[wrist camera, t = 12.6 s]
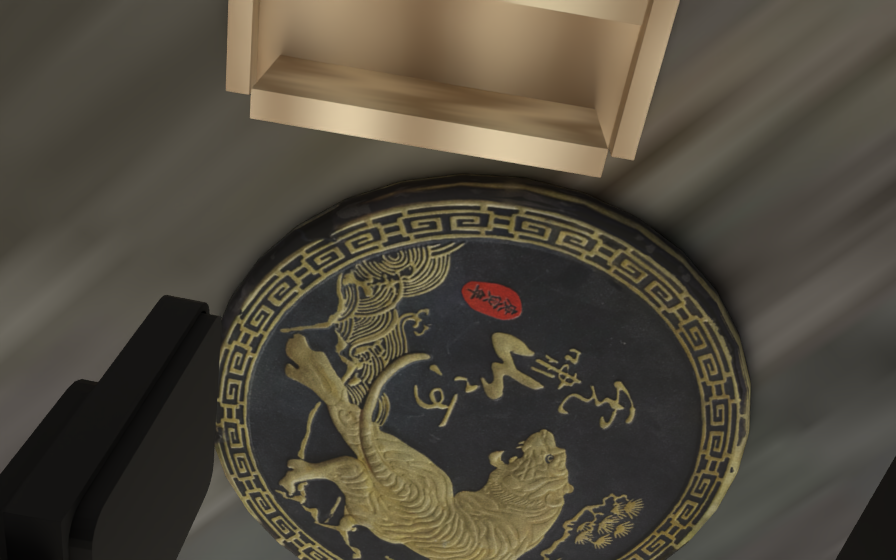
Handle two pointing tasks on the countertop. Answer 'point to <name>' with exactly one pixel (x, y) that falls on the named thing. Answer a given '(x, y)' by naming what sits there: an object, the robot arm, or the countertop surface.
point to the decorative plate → (479, 380)
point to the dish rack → (457, 73)
